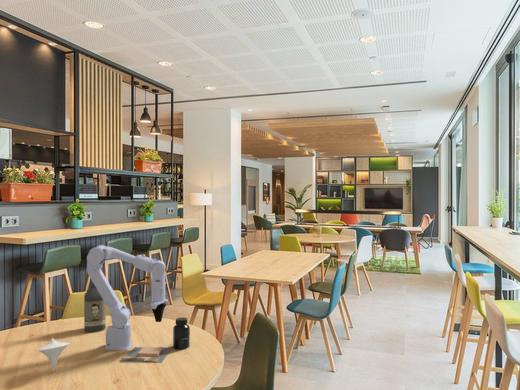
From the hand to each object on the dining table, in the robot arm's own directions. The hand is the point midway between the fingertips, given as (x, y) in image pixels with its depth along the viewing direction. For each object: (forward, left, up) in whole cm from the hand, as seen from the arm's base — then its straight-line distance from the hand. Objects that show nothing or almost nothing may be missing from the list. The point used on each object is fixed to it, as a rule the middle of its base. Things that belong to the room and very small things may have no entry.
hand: (158, 321), depth 174 cm
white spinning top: (-30, -28, -10) cm, 42 cm away
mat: (-1, -12, -10) cm, 16 cm away
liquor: (-37, +20, -10) cm, 43 cm away
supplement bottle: (+10, -3, -10) cm, 15 cm away
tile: (0, -8, -9) cm, 12 cm away
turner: (-2, -18, -10) cm, 20 cm away
